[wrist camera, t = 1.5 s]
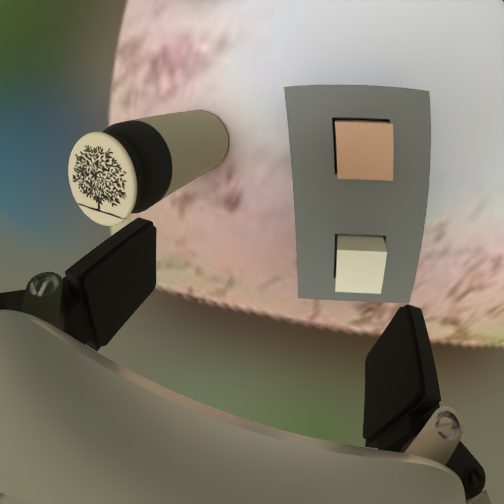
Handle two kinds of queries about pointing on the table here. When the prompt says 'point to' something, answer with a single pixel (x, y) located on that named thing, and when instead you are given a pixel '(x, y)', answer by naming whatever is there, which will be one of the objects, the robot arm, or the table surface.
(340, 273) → the cream cube
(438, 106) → the table surface
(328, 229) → the gray socket board
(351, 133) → the terracotta key
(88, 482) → the robot arm
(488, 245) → the table surface
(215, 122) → the travel mug
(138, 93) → the table surface
